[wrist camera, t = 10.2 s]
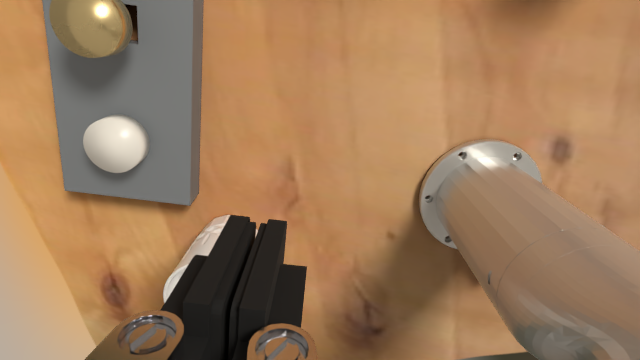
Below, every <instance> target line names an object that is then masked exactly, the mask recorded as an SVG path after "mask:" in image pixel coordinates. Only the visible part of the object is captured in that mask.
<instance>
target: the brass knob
mask: <svg viewBox="0 0 640 360" xmlns="http://www.w3.org/2000/svg"><path fill="white" fill-rule="evenodd" d="M49 17H50V22H51V26H52V28H53V31H54V33H55V34H56V36H57V38H58V39H59V40H60V42H61V43H62V44H63V45H64V46H65V47H66V48H68V49H69V50H70V51H72V52H73V53H75V54H77V55H80V56H83V57H87V58H97V57H105V56H111V55H115V54H118V53H120V52H121V51H123V50H124V49H125V48H126V47H127V45H128V44H129V42H130V40H131V36H132V20H131V17H130V14H129V12H128V10H127V8H126V6H125V5H124V3H123V2H122V1H121V0H52V1H51V3H50V9H49Z"/></svg>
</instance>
